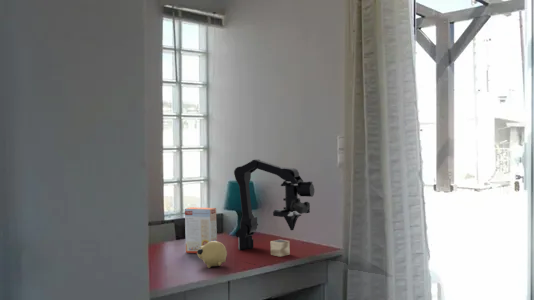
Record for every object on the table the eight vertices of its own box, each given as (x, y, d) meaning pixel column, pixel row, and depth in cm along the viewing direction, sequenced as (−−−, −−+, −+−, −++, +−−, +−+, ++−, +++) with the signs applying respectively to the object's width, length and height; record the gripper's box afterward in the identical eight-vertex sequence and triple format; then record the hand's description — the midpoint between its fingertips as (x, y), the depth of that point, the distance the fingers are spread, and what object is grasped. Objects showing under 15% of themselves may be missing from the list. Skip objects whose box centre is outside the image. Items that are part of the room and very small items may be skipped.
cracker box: (217, 252, 234) (216, 207, 234) (211, 255, 229) (210, 209, 229) (192, 250, 240) (191, 206, 240) (185, 252, 235) (184, 208, 235)
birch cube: (280, 256, 220) (279, 242, 220) (270, 254, 224) (270, 241, 224) (289, 254, 224) (289, 240, 224) (280, 252, 229) (280, 239, 228)
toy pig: (203, 263, 213) (203, 238, 213) (230, 264, 210) (229, 239, 210) (194, 268, 204) (193, 242, 204) (221, 270, 200) (221, 243, 200)
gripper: (289, 199, 217) (290, 235, 217) (318, 195, 230) (318, 229, 230) (272, 197, 225) (272, 232, 226) (300, 194, 238) (301, 226, 238)
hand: (292, 230), depth 230 cm, fingers closed
